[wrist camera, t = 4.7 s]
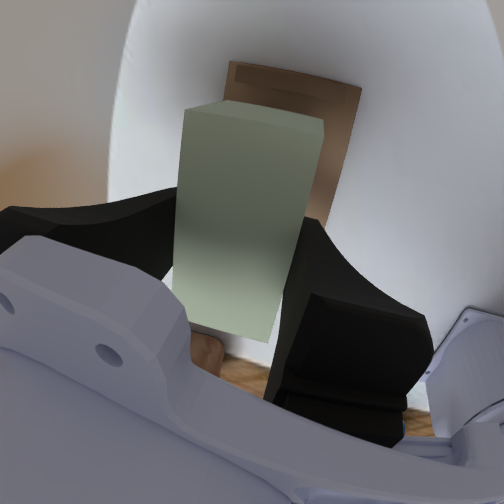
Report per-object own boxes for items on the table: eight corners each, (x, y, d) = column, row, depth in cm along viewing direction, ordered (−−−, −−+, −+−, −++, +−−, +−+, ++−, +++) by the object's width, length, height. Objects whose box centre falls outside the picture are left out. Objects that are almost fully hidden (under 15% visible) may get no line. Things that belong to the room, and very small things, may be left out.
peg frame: (315, 255, 23) (313, 275, 21) (208, 228, 24) (196, 244, 21) (360, 88, 17) (366, 89, 14) (232, 61, 17) (219, 59, 15)
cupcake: (226, 382, 33) (198, 461, 24) (153, 351, 33) (112, 422, 24) (253, 334, 28) (224, 429, 20) (164, 295, 28) (110, 378, 20)
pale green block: (282, 279, 16) (267, 343, 12) (206, 259, 16) (172, 316, 13) (323, 119, 12) (324, 136, 8) (227, 99, 12) (185, 109, 8)
